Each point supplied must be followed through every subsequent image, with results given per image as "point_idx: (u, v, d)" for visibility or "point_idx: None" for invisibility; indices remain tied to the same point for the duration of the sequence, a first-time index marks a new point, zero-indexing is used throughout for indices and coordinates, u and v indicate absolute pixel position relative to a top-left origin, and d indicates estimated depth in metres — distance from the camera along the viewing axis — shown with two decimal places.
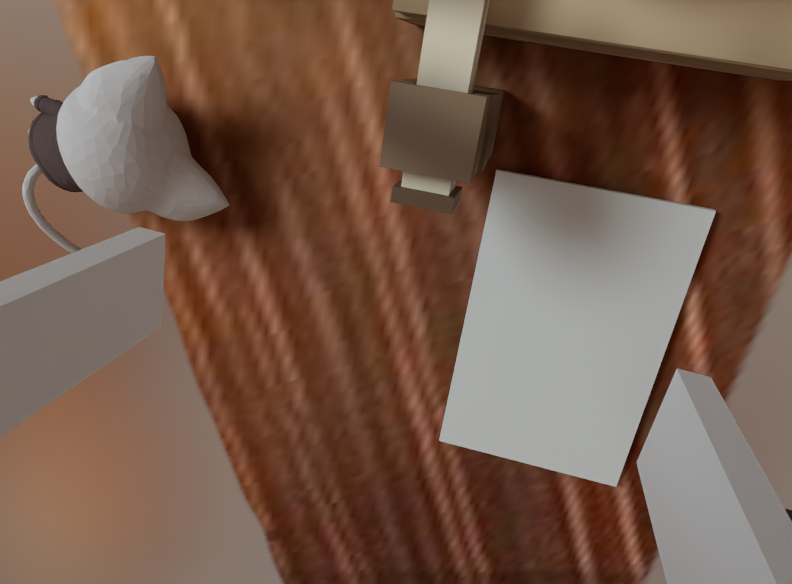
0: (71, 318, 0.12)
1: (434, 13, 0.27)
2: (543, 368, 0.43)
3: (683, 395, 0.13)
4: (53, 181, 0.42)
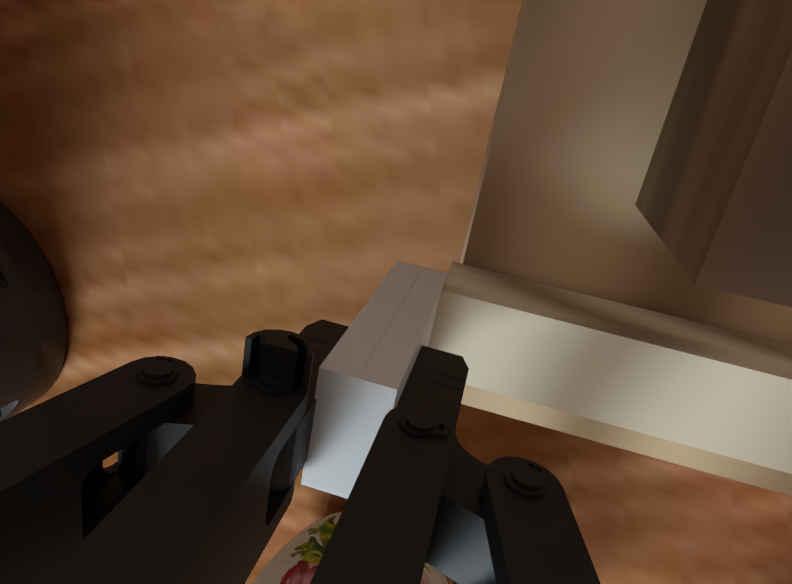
0: None
1: None
2: None
3: None
4: None
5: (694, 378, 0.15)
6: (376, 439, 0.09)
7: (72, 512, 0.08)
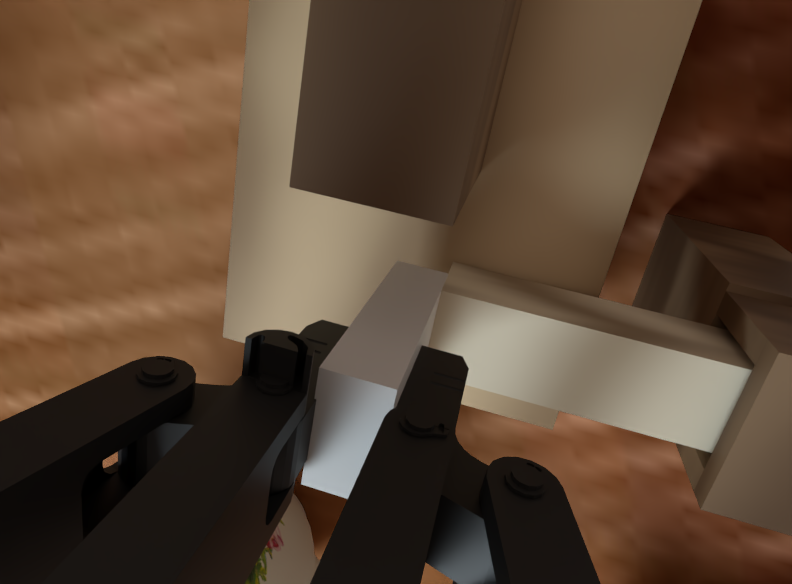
0: None
1: None
2: None
3: None
4: None
5: (694, 378, 0.15)
6: (376, 439, 0.09)
7: (73, 513, 0.08)
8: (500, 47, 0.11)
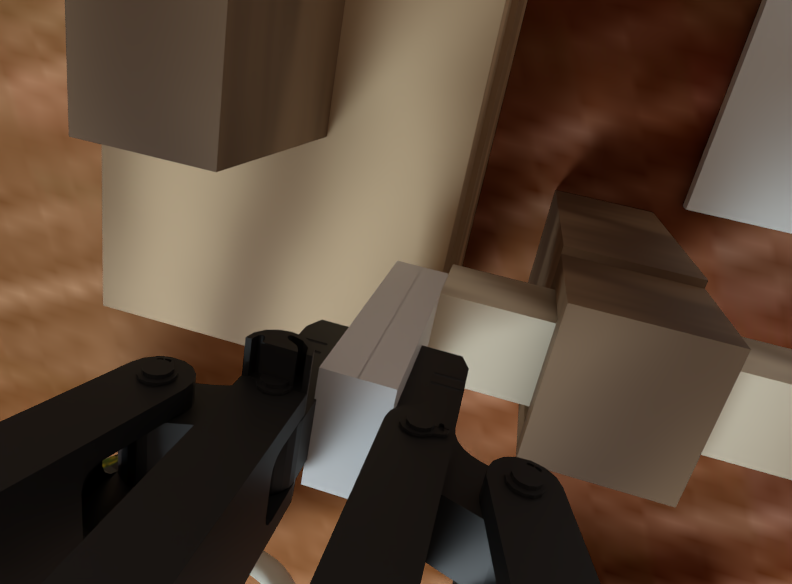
0: None
1: None
2: None
3: None
4: None
5: None
6: (376, 439, 0.09)
7: (73, 512, 0.08)
8: (270, 3, 0.12)
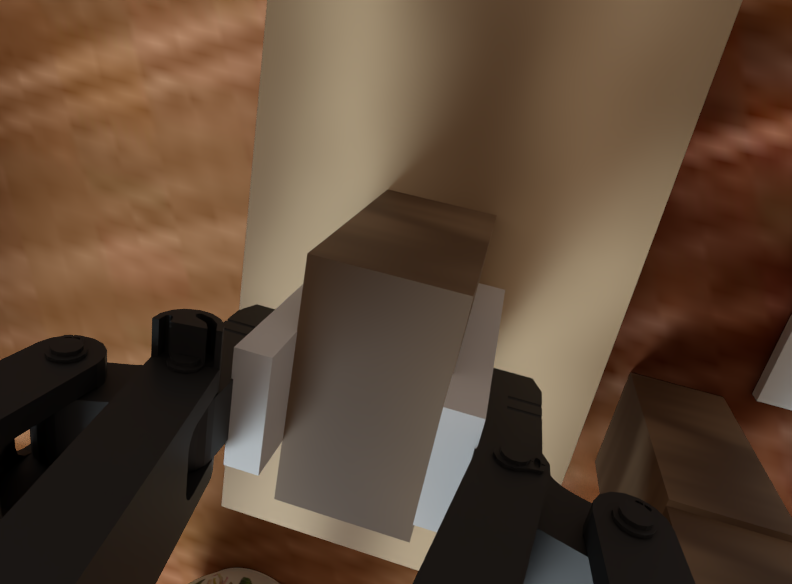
0: None
1: None
2: None
3: None
4: None
5: None
6: (469, 468, 0.09)
7: None
8: None
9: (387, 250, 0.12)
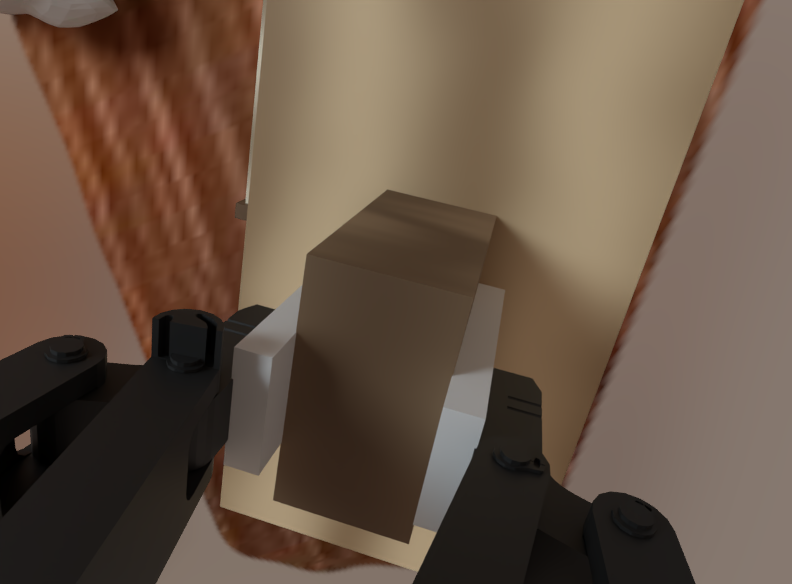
0: None
1: None
2: None
3: None
4: None
5: None
6: (469, 468, 0.09)
7: None
8: None
9: (387, 251, 0.12)
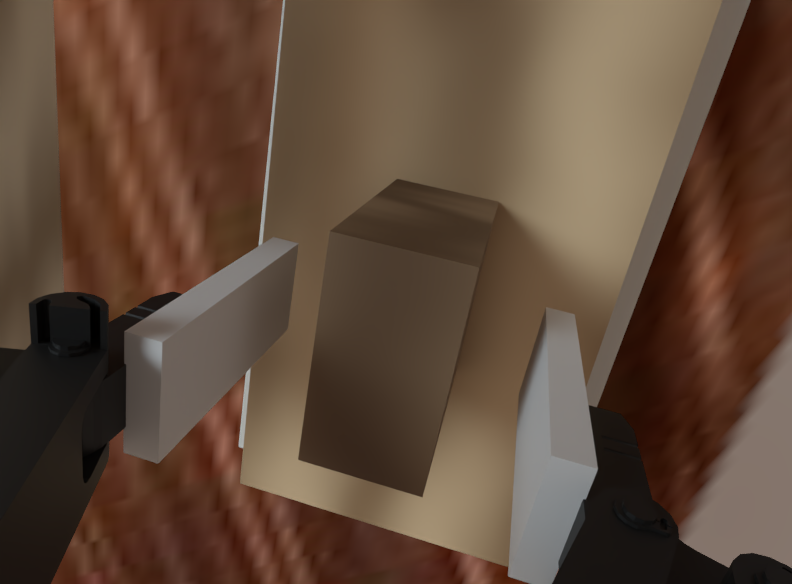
0: (239, 322, 0.14)
1: None
2: None
3: (544, 327, 0.15)
4: None
5: None
6: (587, 520, 0.08)
7: None
8: (459, 352, 0.15)
9: (400, 230, 0.13)
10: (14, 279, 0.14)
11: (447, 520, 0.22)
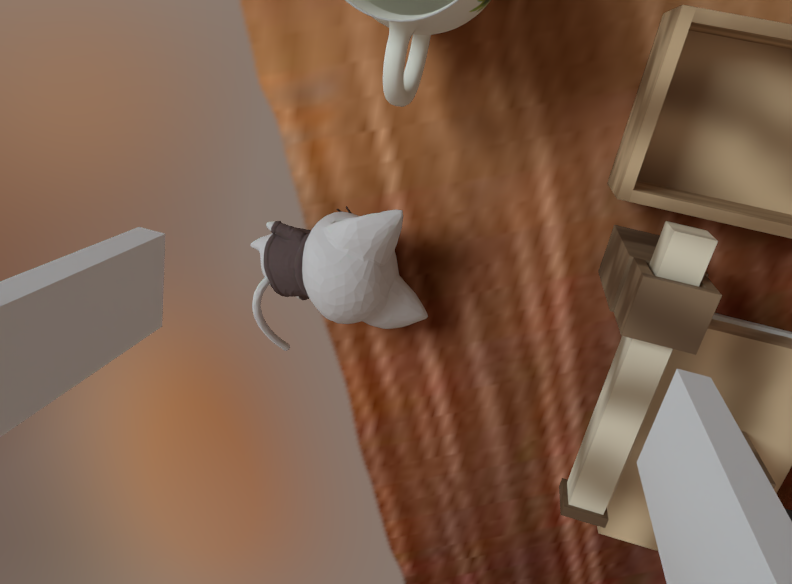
0: (71, 318, 0.12)
1: (609, 412, 0.40)
2: None
3: (683, 395, 0.13)
4: (277, 290, 0.49)
5: None
6: None
7: None
8: None
9: None
10: None
11: None
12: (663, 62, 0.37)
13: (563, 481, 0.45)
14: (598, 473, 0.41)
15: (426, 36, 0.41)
